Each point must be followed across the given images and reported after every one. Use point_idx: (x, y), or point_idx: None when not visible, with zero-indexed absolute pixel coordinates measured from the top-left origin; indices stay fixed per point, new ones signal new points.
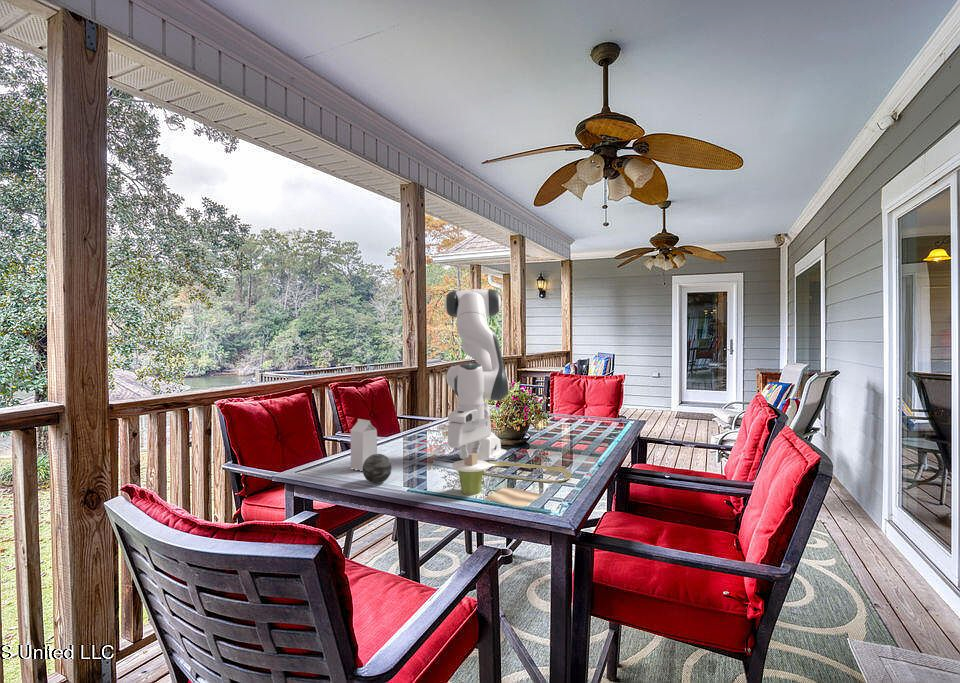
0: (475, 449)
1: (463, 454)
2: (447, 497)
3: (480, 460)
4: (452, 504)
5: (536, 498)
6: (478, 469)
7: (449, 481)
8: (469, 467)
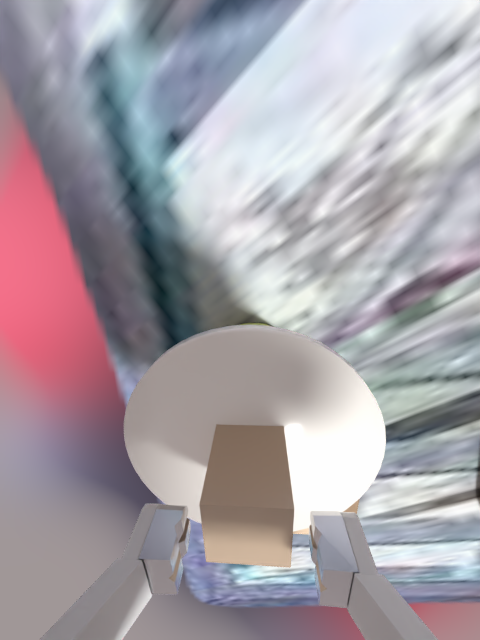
0: (318, 586)
1: (136, 538)
2: (159, 308)
3: (378, 454)
4: (119, 365)
5: (306, 533)
6: (193, 516)
7: (357, 158)
8: (183, 475)
